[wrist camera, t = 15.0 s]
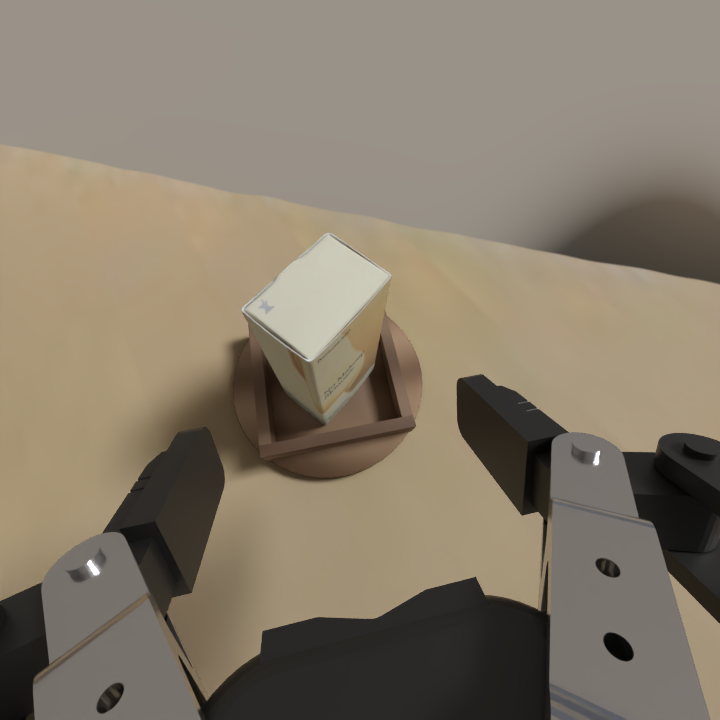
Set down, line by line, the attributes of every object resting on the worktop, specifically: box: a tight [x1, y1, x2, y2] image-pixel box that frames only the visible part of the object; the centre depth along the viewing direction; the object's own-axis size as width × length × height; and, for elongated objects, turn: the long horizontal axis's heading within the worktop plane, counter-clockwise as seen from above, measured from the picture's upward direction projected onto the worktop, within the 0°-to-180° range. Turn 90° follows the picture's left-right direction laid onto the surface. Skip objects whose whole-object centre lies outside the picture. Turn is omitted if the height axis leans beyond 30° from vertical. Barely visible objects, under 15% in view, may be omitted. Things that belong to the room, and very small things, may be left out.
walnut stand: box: [233, 312, 422, 478], centre depth 26 cm, size 15×15×3 cm
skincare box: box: [241, 233, 391, 425], centre depth 21 cm, size 6×4×12 cm
